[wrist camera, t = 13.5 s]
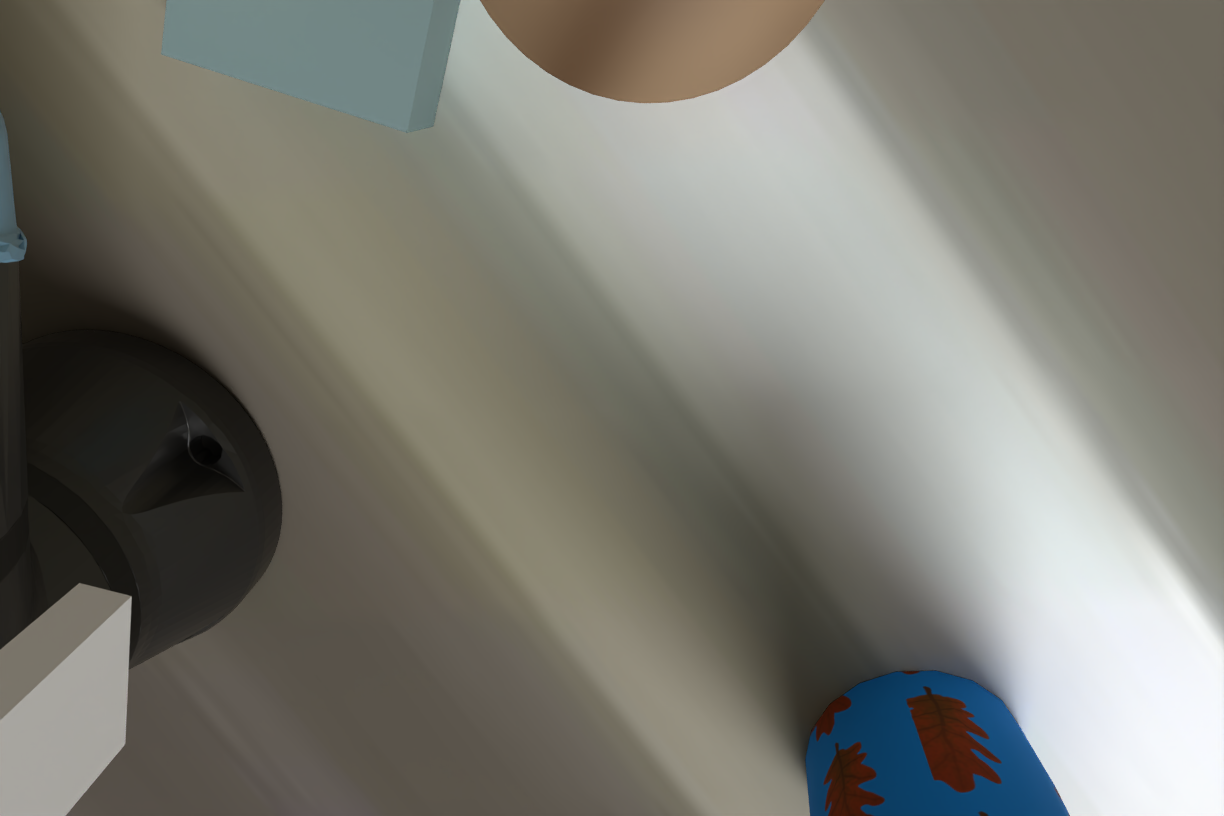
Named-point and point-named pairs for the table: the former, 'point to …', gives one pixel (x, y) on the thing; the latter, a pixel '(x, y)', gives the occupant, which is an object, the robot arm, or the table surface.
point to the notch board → (325, 51)
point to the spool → (651, 42)
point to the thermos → (924, 753)
